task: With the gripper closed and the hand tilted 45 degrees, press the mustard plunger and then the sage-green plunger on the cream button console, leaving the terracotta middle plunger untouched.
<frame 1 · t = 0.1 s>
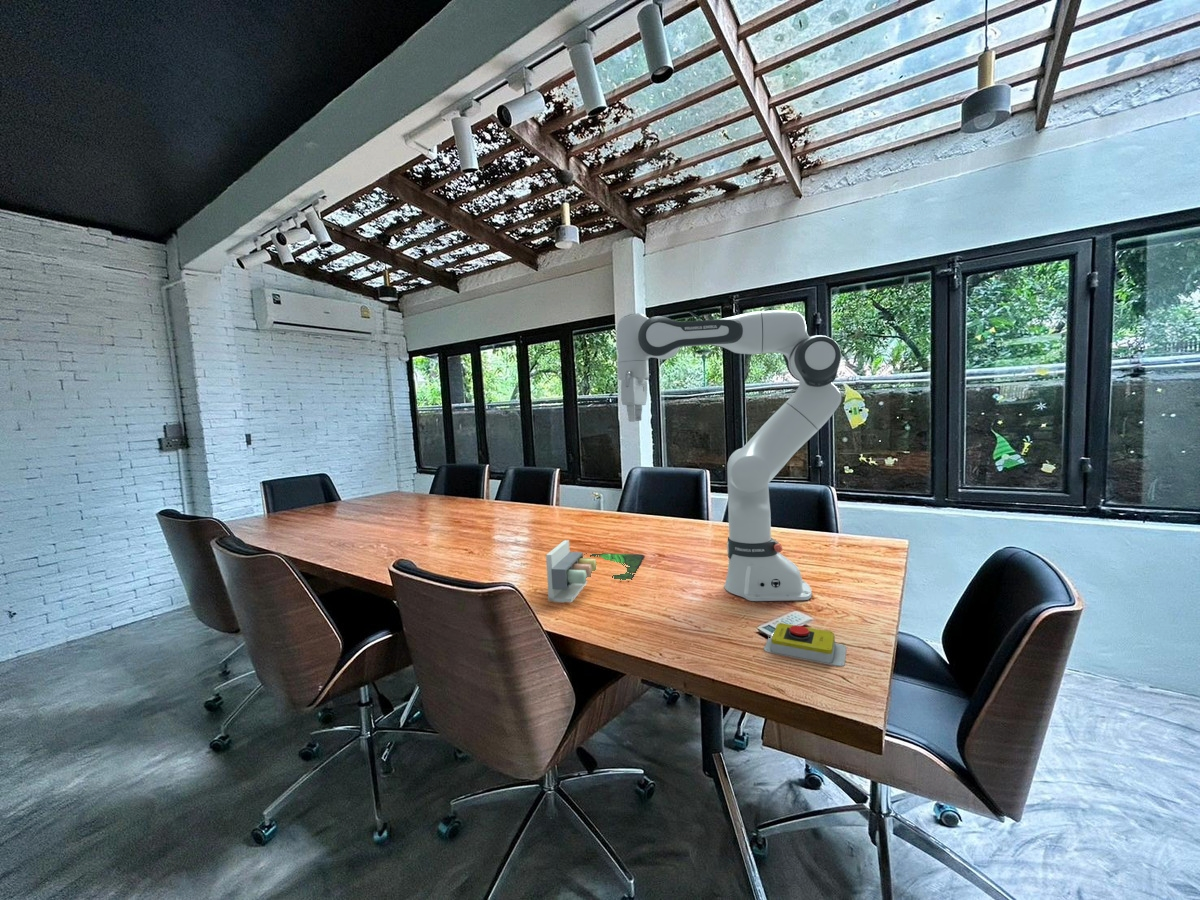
hand: (635, 421, 137), 48 cm above the table, tool pointing down, fingers open, 8 cm apart
emergency button: (805, 651, 98), on the table
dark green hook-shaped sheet: (606, 568, 158), on the table
sage button: (575, 576, 130), point 6 cm above the table, slide at 0.0 cm
terracotta button: (580, 570, 135), point 7 cm above the table, slide at 0.0 cm
mustard button: (586, 564, 140), point 7 cm above the table, slide at 0.0 cm
console: (562, 591, 137), on the table
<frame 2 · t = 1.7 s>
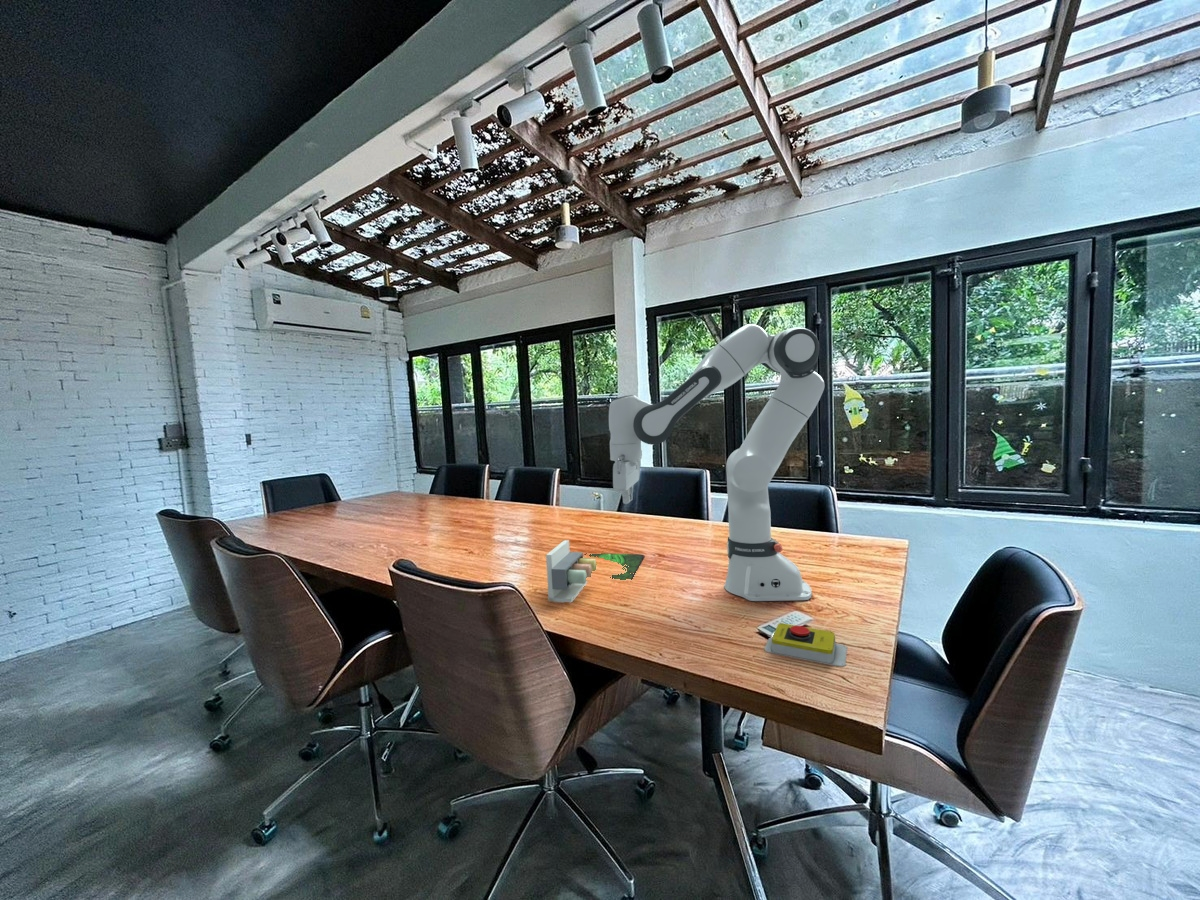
hand: (627, 502, 135), 25 cm above the table, tool pointing down, fingers closed
nothing on the table moved.
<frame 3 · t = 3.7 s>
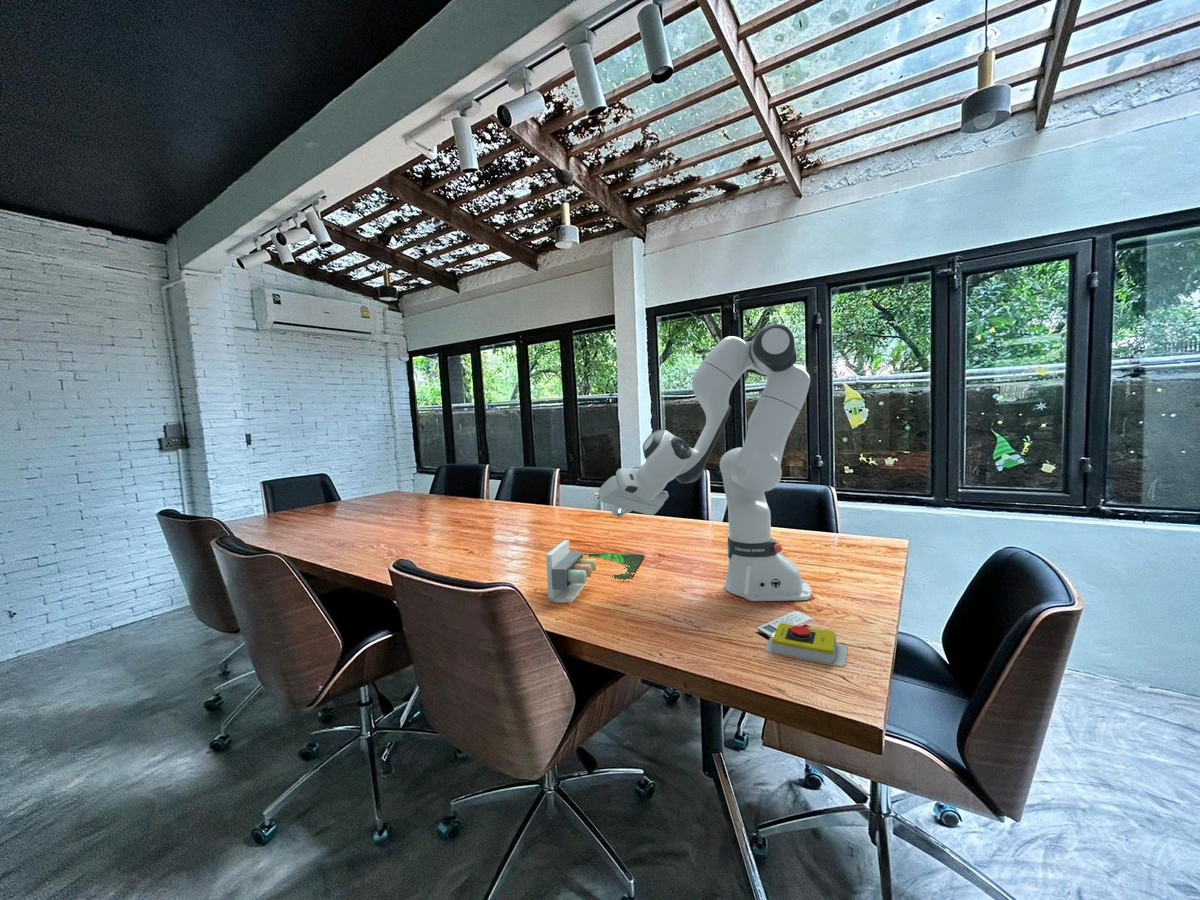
hand: (615, 514, 139), 21 cm above the table, tool tilted 50°, fingers closed
nothing on the table moved.
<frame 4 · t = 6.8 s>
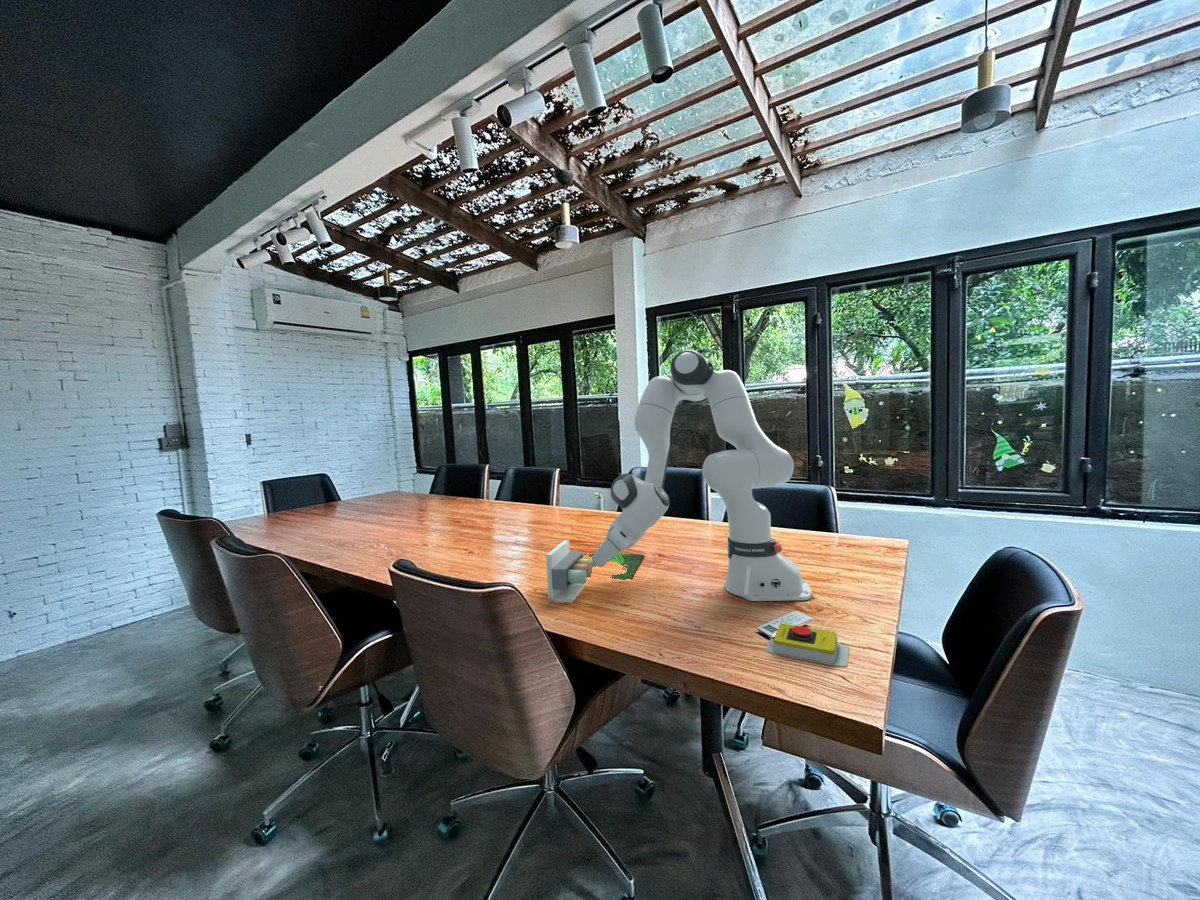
hand: (593, 564, 139), 7 cm above the table, tool tilted 45°, fingers closed, pressing on mustard button
mustard button: (582, 564, 140), point 7 cm above the table, slide at 1.1 cm, touching gripper
everything else where it was.
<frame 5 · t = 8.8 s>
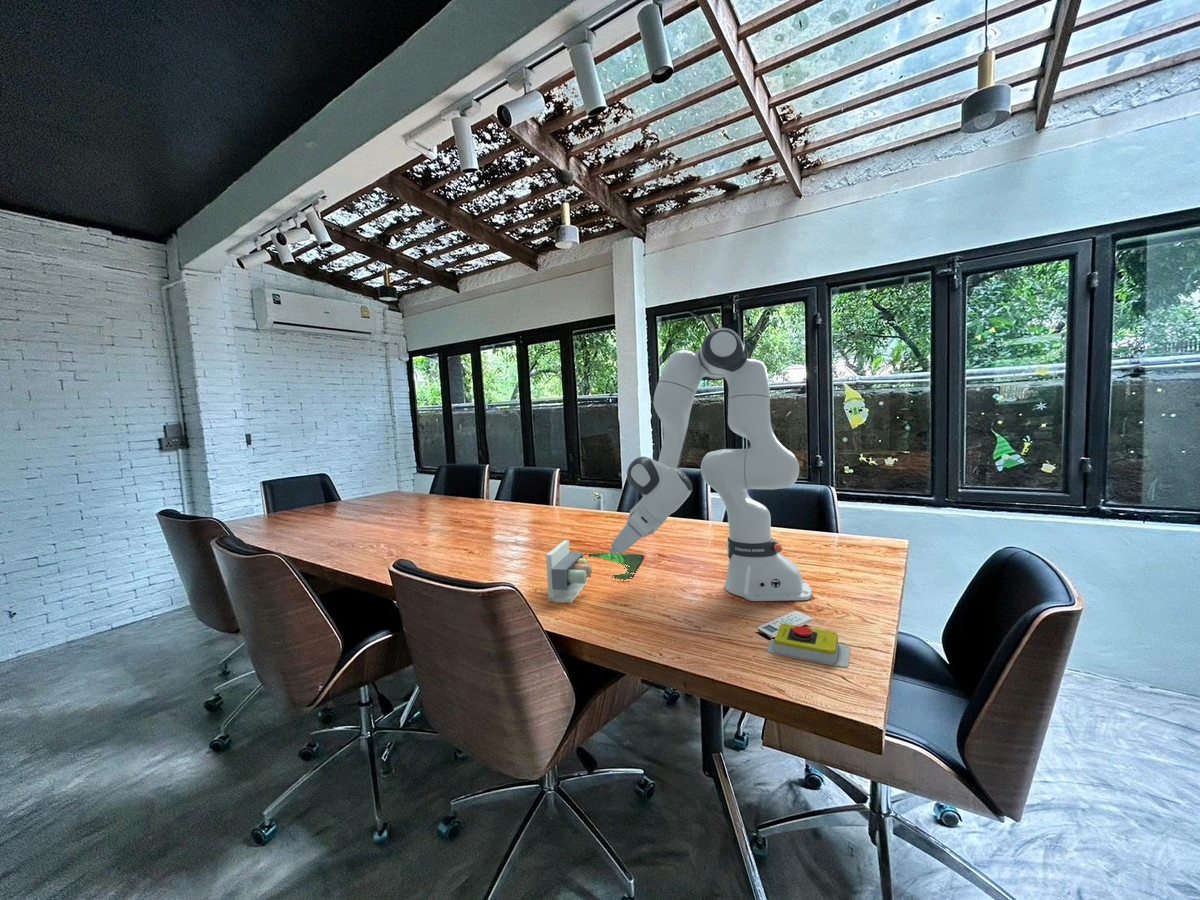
hand: (612, 552, 134), 12 cm above the table, tool tilted 45°, fingers closed
mustard button: (577, 564, 140), point 7 cm above the table, slide at 2.7 cm
everything else where it was.
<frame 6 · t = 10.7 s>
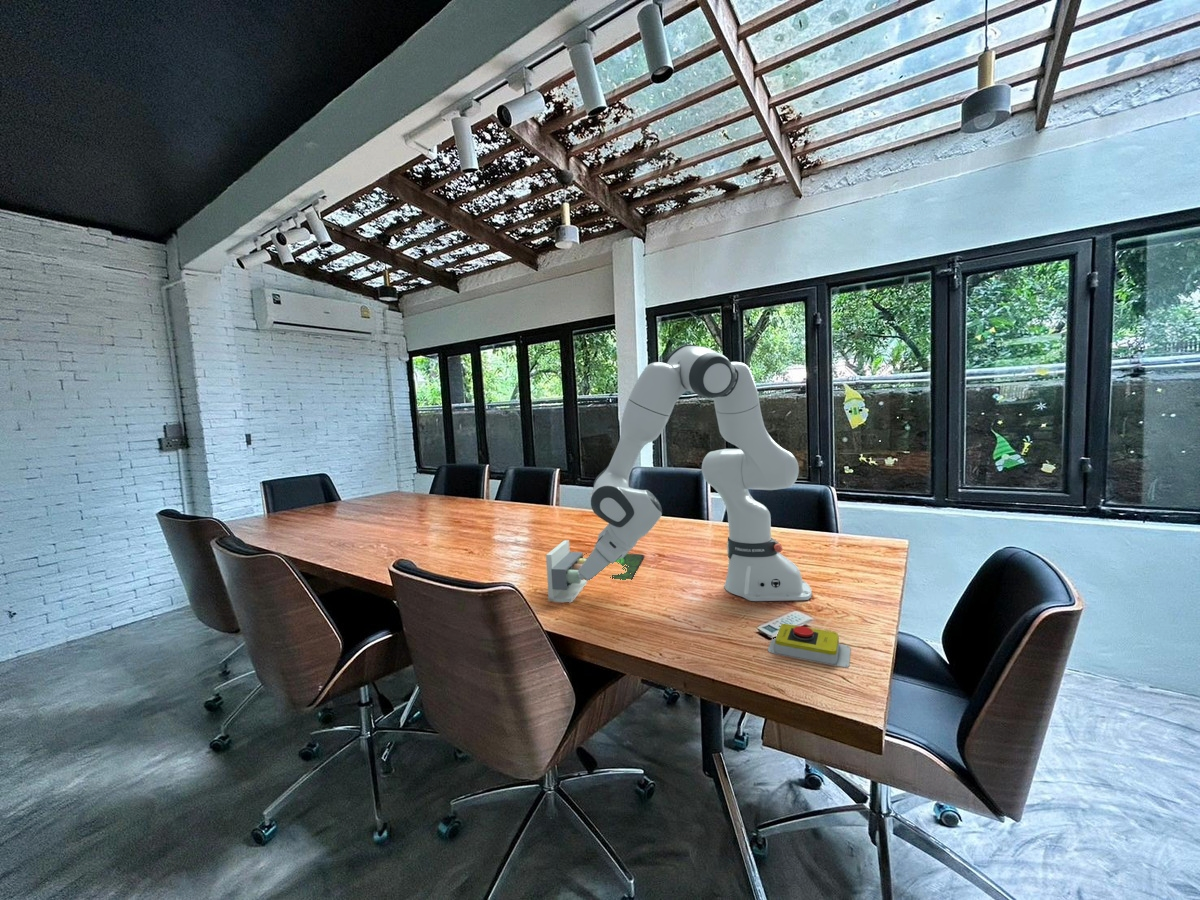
hand: (581, 576, 129), 7 cm above the table, tool tilted 45°, fingers closed, pressing on sage button
sage button: (569, 576, 130), point 7 cm above the table, slide at 1.5 cm, touching gripper
everything else where it was.
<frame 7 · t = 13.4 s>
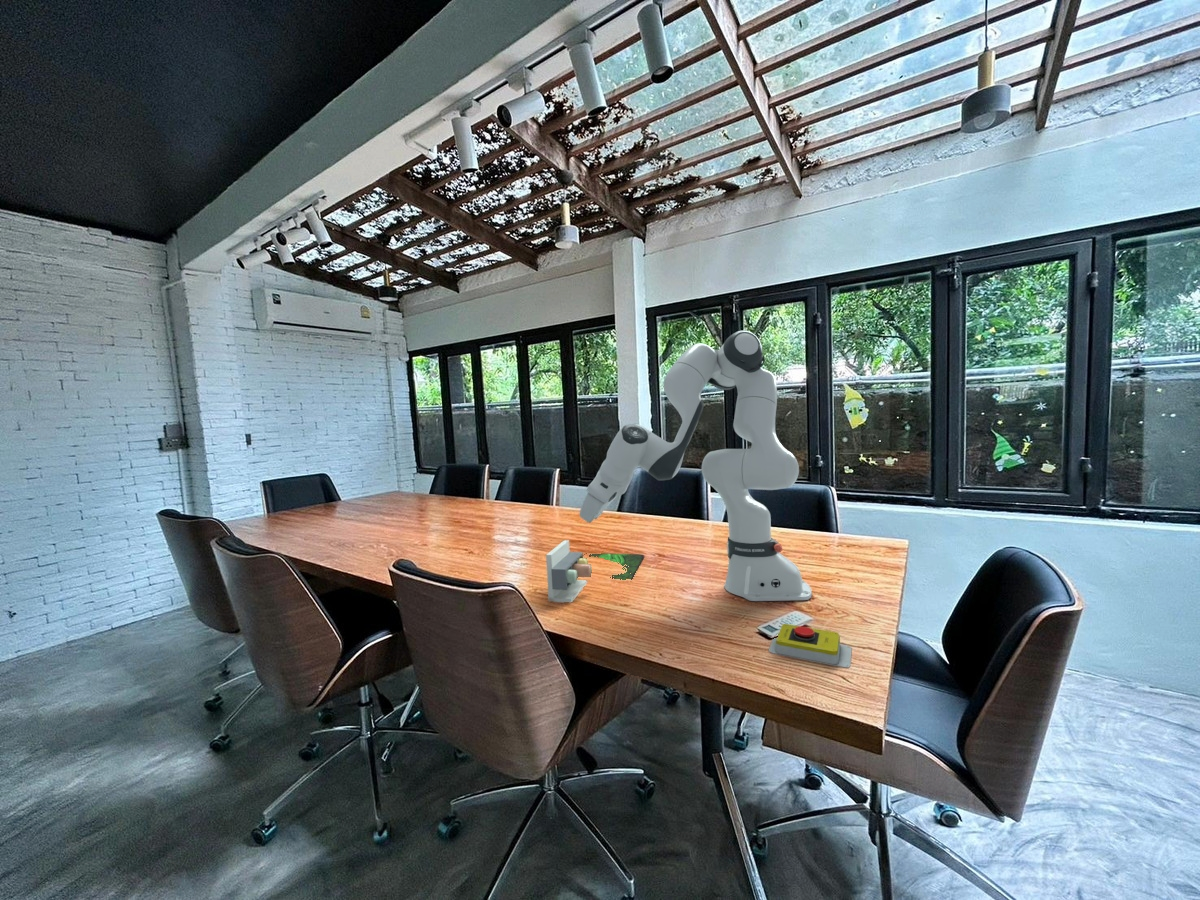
hand: (595, 515, 134), 22 cm above the table, tool tilted 40°, fingers closed
sage button: (565, 576, 130), point 6 cm above the table, slide at 2.7 cm
everything else where it was.
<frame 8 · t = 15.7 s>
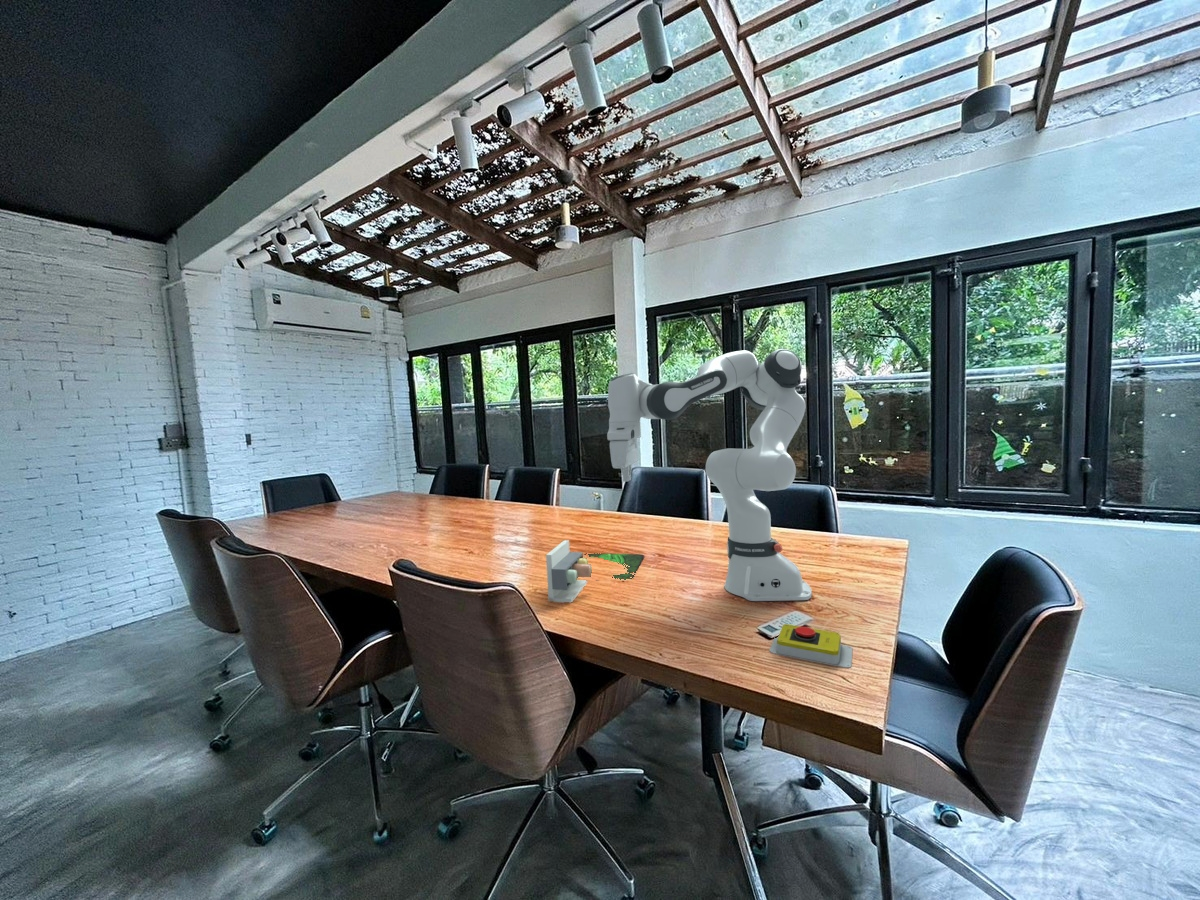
hand: (627, 480, 135), 31 cm above the table, tool pointing down, fingers closed
at the end: mustard button slide at 2.7 cm; sage button slide at 2.7 cm; terracotta button slide at 0.0 cm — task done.
